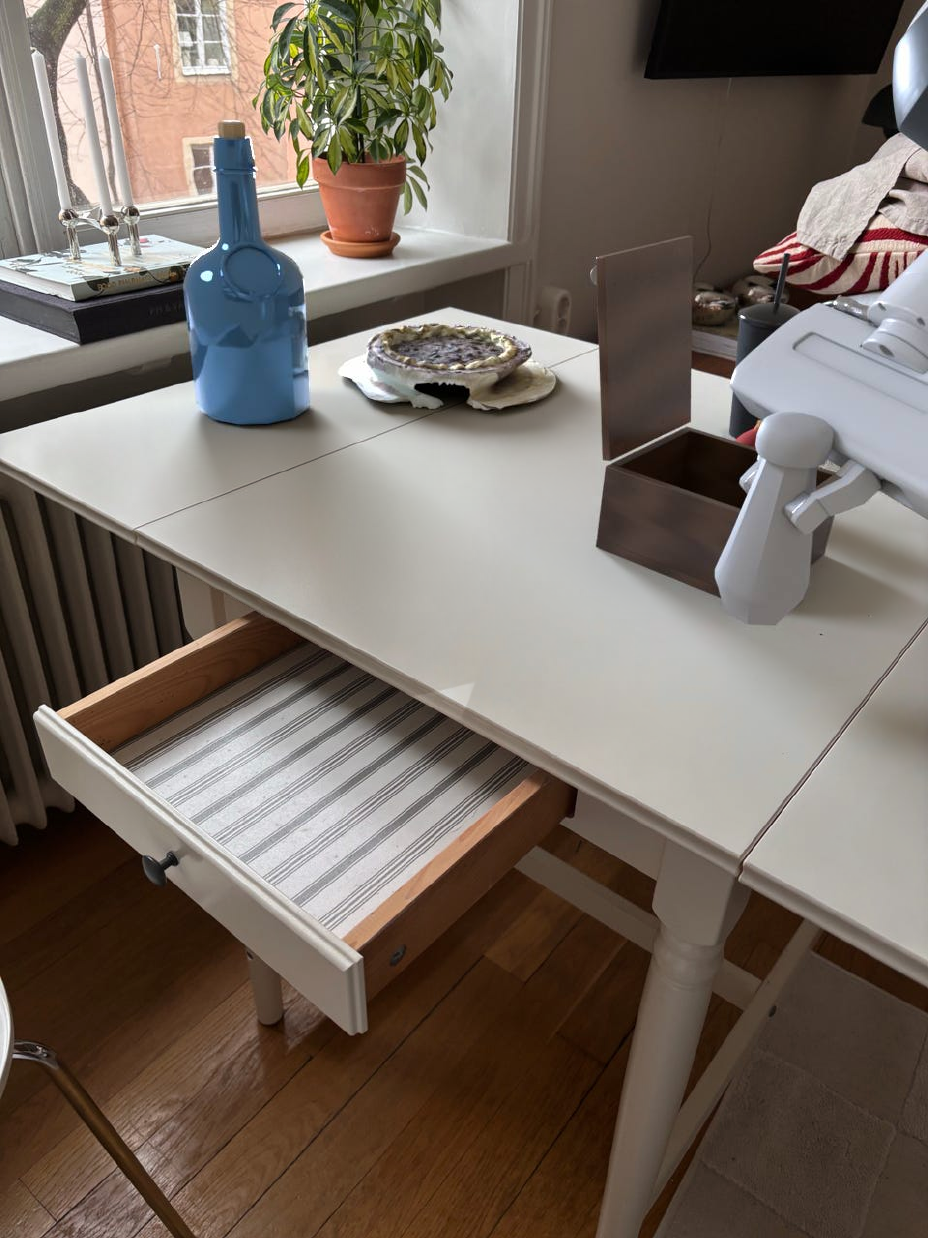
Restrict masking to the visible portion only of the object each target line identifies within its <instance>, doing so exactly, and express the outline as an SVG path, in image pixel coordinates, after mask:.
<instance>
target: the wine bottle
mask: <svg viewBox="0 0 928 1238" xmlns="http://www.w3.org/2000/svg"><path fill="white" fill-rule="evenodd" d="M217 131H218V135H215V136H214V138H213V169H212V172H214V173H215V177H216V195H217V196H216V197H217V208H218V209H217V211H218V212H217V213H218V227H219V228H218V229H219V230H218V231H219V238H218V240H217V242H216V243H215V244H214V245H212V247H210V248H207V249H206V250H204V251H202V252H201V253H199V254H198V255H197V256H195V257H194V258H193V259H192V261H191V262H190V265H189V266H188V269H187V271H186V273H185V275H184V280H183V282H182V283H183V284H182V288H183V301H184V307H185V316H186V324H187V325H186V327H187V332H188V333H187V334H188V341H189V349H190V357H191V358H190V359H191V366H192V376H193V383H194V391H195V400H196V405H197V406H198V409H199V411H201V413H204V414H205V415H206V416H207V417H210V418H211V419H212V420H215V421H219V422H226V423H230V424H235V425H268V424H273V423H277V422H282V421H286V420H290V419H295V418H296V417H297V416H299V415H300V414H302V413H304V412H305V411H307V410H308V408H309V407H310V403H311V386H310V385H311V384H310V368H309V366H310V365H309V364H310V363H309V346H308V330H307V310H306V309H307V308H306V293H305V292H306V291H305V290H306V289H305V278H304V275H303V273H302V271H301V269H300V267H299V265H298V264H297V262H295V261H294V259H293V258H292V257H290V256H289V255H287V254H286V253H285V252H283V251H280V250H278V249H276V248H274V247H272V246H271V245H269V244H267V242H266V240H265V239H264V237H263V235H262V228H261V220H260V211H259V202H258V191H257V184H256V183H257V182H256V175H255V174H256V173H257V171H258V168H257V167H256V161H255V155H254V150H253V144H252V143H253V142H252V139H251V137H250V136H249V135H246V125H245V122H244V121H241V120H232V119H228V120H227V119H226V120H225V119H224V120H220V121H218V123H217Z"/></svg>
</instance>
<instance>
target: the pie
mask: <svg viewBox="0 0 928 1238" xmlns="http://www.w3.org/2000/svg"><path fill="white" fill-rule="evenodd" d="M364 350H365V354H363V355H360V356H358V357H355V358H352V359H349V360H348V361H346V362H345V363H344V364H343V365H342V366H341V367H340V368H339V369H338V371H337V374H338V375H339V376H342V377H347V378H349V379H351V380H352V382H354V383H355V384H356V386H357V387H358V388H359V389H360V390H361V392H362V393H363V394H364V396H366V398H367V397H368V398H369V399H372V400H374V401H377V402H380V403H387V404H395V403H400V402H403V403H407V402H410V403H411V404H412V408H413V409H416V408H422V407H424V408H428V409H429V410H436V409H437V408H440V406H443V405H444V403H443V401H442V400H441V399H440V398H437V397H435V396H432V395H430V394H427V393H424V392H420V391H419V390H417V389H415V386H416V385H417V384H428V383H429V384H431V385H432V384H434V383H438V386H441V385H442V384H443V383H445V384H446V385H447V386H448V385H449V384H450V385H451V386H453V385H454V384H455V385H456V386H460V387H462V386H464V387H465V388H466V389H469V396H468V398H467V400H466V404H467V405H469V406H472V408H473V409H482V411H489V410H492V409H493V410H494V409H495V410H498V411H500V410H503V409H504V408H506V407H512V406H519V405H523V404H527V403H528V404H529V403H532V402H537V401H540V400H542V399H544V398H546V397H547V396H548V395H550V393H551V392H552V390H553V389H554V388H555V386H556V383H557V379H556V375H555V374H554V373H553V372H552V371H551V370H550V369H549V368H547V366H545V365H544V364H542V363H540V362H536V361H535V360H534V359H532V358H531V357H532V355H533V352H532V346H531V345H529V344H528V342H525V341H522V340H519V339H518V338H517V337H516V336H515V335H510V334H509V333H506V332H504V331H502V330H496V329H490V330H489V328H488V327H487V326H483V327H482V326H481V327H480V326H476V325H461V324H456V323H454V325H448V324H439V323H438V322H437V323H436V322H433V323H432V322H430V323H428V324H427V323H423V324H417V325H416V324H414V325H406V324H403V325H400V326H399V327H398V328H397V327H394V328H391V329H386V330H385V329H384V330H383V331H379V332H377V333H376V334H375V335H372V336H371V337H370V338H369V339H368V341H367V344H366V347H365V349H364Z"/></svg>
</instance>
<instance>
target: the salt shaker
mask: <svg viewBox="0 0 928 1238" xmlns="http://www.w3.org/2000/svg"><path fill="white" fill-rule="evenodd" d="M833 439H834V431H833V430H832V428H831V427H830V426H829V424H828V423H827V422H826V421H825V420H823V419H821V418H819V417H817V416H813V415H809V414H806V413H799V412H778V413H775V414H772V415H770V416H768V417H766V418H765V419H764V420H763V421H762V423H761V424H760V427H759V429H758V432H757V434H756V442H755V447H756V451H757V453H758V454H759V456H760V457H762V458H763V459H762V462H761V464H760V467H759V469H758V471H757V474H756V476H755V478H754V481H753V483H752V486H751V488H750V490H749V492H748V495H747V497H746V500H745V502H744V504H743V507H742V509H741V511H740V514H739V516H738V518H737V521H736V523H735V526H734V528H733V530H732V533H731V535H730V537H729V539H728V542H727V544H726V546H725V548H724V551H723V553H722V555H721V557H720V559H719V562H718V564H717V566H716V568H715V579H716V582H717V585H718V588H719V591H720V595H721V597H720V598H721V599H720V600H721V603H722V607H723V610H724V613H726V614H728V615H730V616H731V617H733V618H735V619H737V620H738V621H740V622H742V623H744V624H746V625H750V626H751V625H753V626H777V625H778V624H779V623H780V622H781V621H782V620H783V619H784V618H786V616H788V614H789V613H790V612H792V611H793V610H794V609H795V608H796V607H797V606H798V605H799V604H800V603H801V602H802V601H803V600H804V597H805V595H806V593H807V590H808V588H809V586H810V581H811V579H810V578H811V566H812V565H811V550H812V535H813V532H811V533H810V534H807V535H805V534H803V533H801V532H800V531H799V530H797V529H796V528H795V527H793V526H792V524H791V523H790V522H789V521H788V520H787V519H786V518H785V517H784V516H783V515H782V508H783V506H785V505H786V504H788V503H789V502H791V501H792V500H793V499H794V498H795V497H796V496H797V495H798V494H800V493H801V492H802V491H805V492H806V493H808V494H811V493H813V492H815V490H816V475H817V467H821V466H823V465H826V462H827V461H828V460H827V459H828V457H829V455H830V453H831V450H832V446H833ZM810 565H811V566H810Z"/></svg>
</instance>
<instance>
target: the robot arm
mask: <svg viewBox="0 0 928 1238" xmlns="http://www.w3.org/2000/svg"><path fill="white" fill-rule="evenodd" d="M892 98H893V107H894V114H895V121H896V125H897V129H898V132H899V133H901V134H902V135H904V136H905V137H906V138H908V139H910V140H911V142H913V143H915V144H916V145H917V146H919V147H920V148H922V149H923V150H924V151H926V152H927V153H928V0H925V2H924V3H923V5H922V6H921V7H920V8H919V10H918V11H917V13H916V14H915V16H914V17H913V19H912V21H911V22H910V24H909V26H908V27H907V29H906V31H905V33H904V34H903V36H902V37H901V38H900V40H899V42H898V43H897V45H896V46H895V48H894V56H893V67H892ZM729 387H730V389H731V392H732V393H733V392H734V393H735V395H736V396H737V398H738V399H739V400H740V402H741V403H742V404H743V405H744V407H745V408H746V409H747V410H748V411H749V412H750V413H751V414H752V415H754V416H756V417H757V418H759V419H761V420H762V421H763V420H764V419H765V418H766V417H768V416H770V415H772V414H775V413H778V412H799V413H806V414H809V415H813V416H817V417H819V418H821V419H823V420H825V421H826V422H827V423H828V424H829V426H830V427H831V428H832V430H833V431H834V439H833V446H832V450H831V453H830V455H829V457H828V459H827V461H829V462H831V463H832V464H834V465H836V466H837V467H839V469H838V470H837V471H835V472H836V475H837V476H838V478H839V480H837V481H835V482H833V483H831V484H829V485H827V486H825V487H823V488H821V489H819V490H817V491H815V492H813V493H811V494H808V493H806V492H805V491H802V492H801V493H800V494H798V495H797V496H796V497H795V498H794V499H793V500H792V501H791V502H789V503H788V504H786V505H785V506H783V508H782V515H783V516H784V517H785V518H786V519H787V520H788V521H789V522H790V523H791V524H792V526H793V527H795V528H796V529H797V530H799V531H800V532H801V533H803V534H805V535H807V534H810V533H811V532H813V531H814V530H815V529H816V528H817V527H818V526H819V525H820V524H821V523H822V522H823V521H824V520H825V519H826V518H827V517H828V516H833V515H835V516H836V515H838V514H842V513H844V512H846V511H850V510H852V509H854V508H858V507H860V506H863V505H866V503H867V502H869V501H870V499H871V498H873V497H874V496H875V494H876V493H878V492H881V494H884V495H886V496H888V497H889V498H891V499H892V500H893V501H896V502H897V503H899V504H901V505H902V506H904V507H905V508H907V509H909V510H911V511H912V512H913V513H916V515H919V516H921V517H922V518H924V519H925V520H927V521H928V246H927V247H926V248H925V249H924V250H923V251H922V252H921V253H920V254H919V255H918V256H917V257H916V258H915V260H913V261H912V262H911V263H910V265H909V266H908V267H906V268H905V269H904V270H903V272H902V273H901V274H900V275H898V276H897V277H896V279H894V281H893V282H891V284H890V285H889V286H887V288H886V289H885V290H884V291H883V292H881V293H880V295H879V296H878V297H876V299H875V300H874V301H873V302H872V303H871V304H870V305H866V304H862V303H860V302H858V301H857V300H856V299H853V298H852V297H848V296H838V297H837V298H835V299H834V300H833V299H832V300H827V301H823V302H822V303H821V302H817V303H815V304H813V305H812V306H810V307H809V308H807V309H804V310H802V311H801V313H799V314H797V315H796V316H794V317H793V318H791V319H790V320H789V321H787V322H786V323H785V324H784V325H782V326H781V327H780V328H779V329H777V330H776V331H775V332H774V333H773V334H771V335H770V336H769V337H768V338H767V339H766V340H764V341H763V342H762V343H761V344H760V345H759V346H758V347H756V348H755V349H754V350H753V351H752V352H751V353H750V354H749V355H748V356H747V357H746V358H745V359H743V360H742V361H741V362H740V363H739V364H738V365H737V367H736V368H734V370H733V372H732V375H731V378H730V381H729ZM762 459H763V458H762V457H760V456H759V455H758V458H757V460H758V461H757V462H756V463H755V464H754V465H753V466H752V467H751V468H750V469H749V470H748V471H747V472H746V473H745V474H744V475H743V476H742V477H741V479H740V482H739V483H740V486H741V487H742V488H743V489H744V490H745V492H746V493H747V494H748V492H749V490H750V488H751V486H752V483H753V481H754V478H755V476H756V474H757V471H758V469H759V467H760V464H761V462H762Z"/></svg>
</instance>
